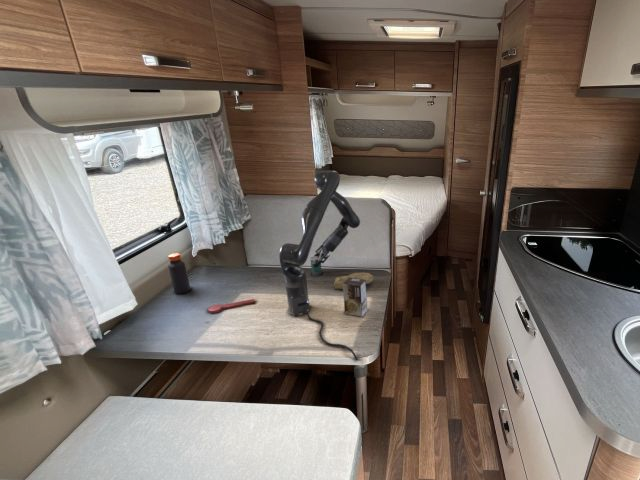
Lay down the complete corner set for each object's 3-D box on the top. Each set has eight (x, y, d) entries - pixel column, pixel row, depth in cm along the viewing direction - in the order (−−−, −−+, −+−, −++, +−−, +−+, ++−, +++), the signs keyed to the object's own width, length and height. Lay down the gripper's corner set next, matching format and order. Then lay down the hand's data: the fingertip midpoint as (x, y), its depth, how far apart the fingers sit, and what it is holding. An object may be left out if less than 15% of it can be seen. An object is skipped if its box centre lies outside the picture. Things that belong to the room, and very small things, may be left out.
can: (322, 274, 191) (321, 259, 188) (312, 276, 189) (311, 260, 185) (320, 270, 196) (319, 255, 192) (311, 272, 194) (309, 256, 190)
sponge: (335, 294, 173) (372, 287, 173) (331, 280, 172) (369, 273, 172) (340, 286, 186) (375, 279, 186) (337, 273, 185) (372, 266, 185)
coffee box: (367, 309, 159) (366, 279, 154) (362, 317, 153) (361, 286, 148) (350, 306, 162) (348, 276, 156) (344, 313, 156) (342, 283, 150)
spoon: (254, 304, 161) (254, 302, 161) (207, 314, 153) (207, 312, 153) (254, 298, 166) (253, 296, 166) (208, 307, 158) (208, 305, 158)
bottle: (175, 295, 168) (166, 259, 161) (173, 290, 172) (164, 254, 166) (191, 291, 172) (183, 255, 165) (189, 285, 177) (181, 251, 170)
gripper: (325, 234, 194) (306, 255, 193) (330, 242, 182) (310, 265, 181) (334, 241, 198) (316, 262, 197) (340, 250, 186) (321, 272, 185)
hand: (313, 263), depth 189 cm, fingers open, 8 cm apart
